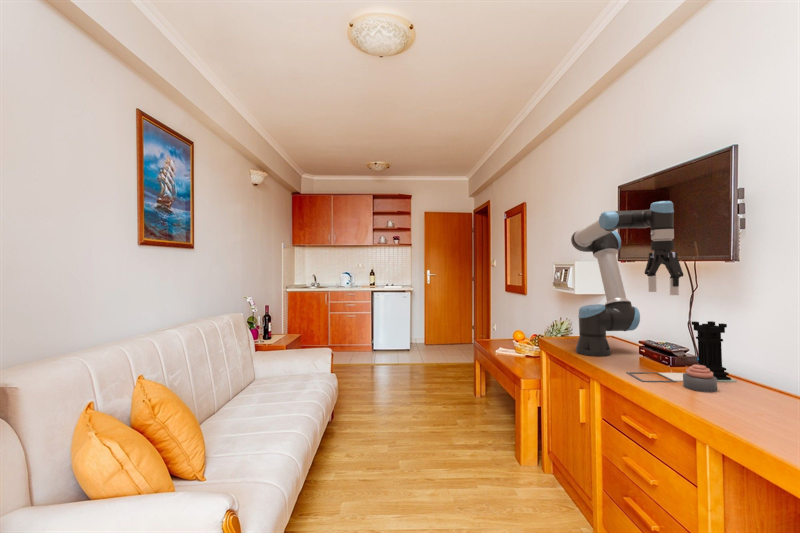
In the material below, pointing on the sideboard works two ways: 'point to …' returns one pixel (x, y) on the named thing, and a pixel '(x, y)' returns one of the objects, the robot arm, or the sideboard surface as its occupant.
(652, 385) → the sideboard surface
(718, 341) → the chess piece
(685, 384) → the base
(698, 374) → the pink swirled mound
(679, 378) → the board
